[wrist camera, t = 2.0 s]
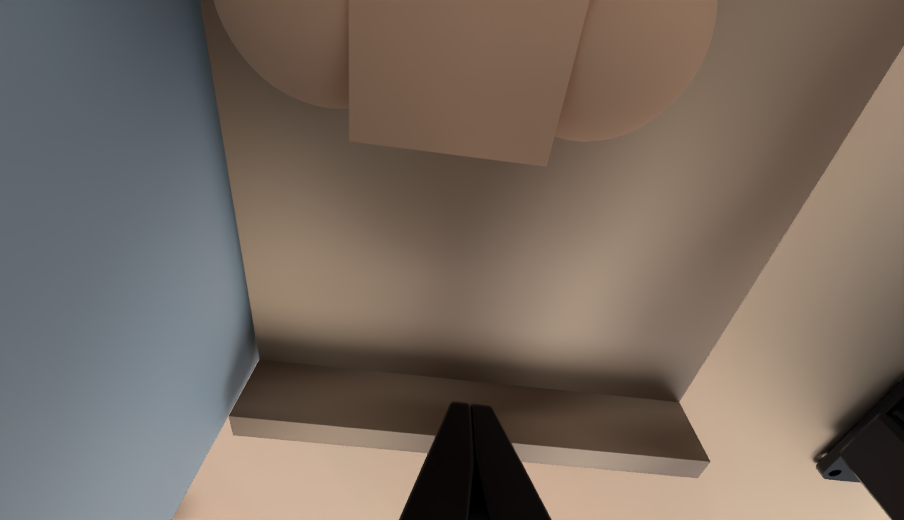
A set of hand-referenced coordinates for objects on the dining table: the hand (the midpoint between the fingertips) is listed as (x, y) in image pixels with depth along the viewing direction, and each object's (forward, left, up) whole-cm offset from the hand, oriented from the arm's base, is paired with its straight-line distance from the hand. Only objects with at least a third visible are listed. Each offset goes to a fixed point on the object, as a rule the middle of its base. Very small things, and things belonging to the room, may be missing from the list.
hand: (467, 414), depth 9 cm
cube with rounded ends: (+1, -7, -3) cm, 8 cm away
